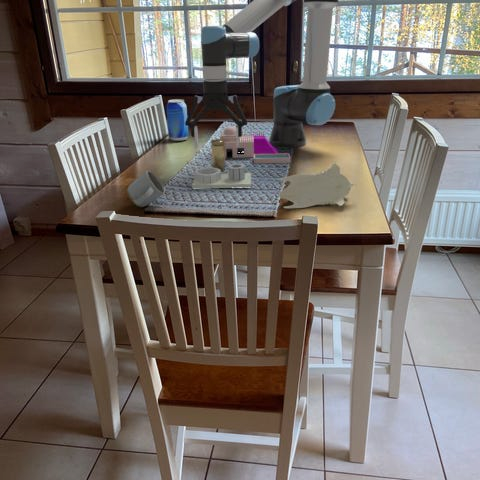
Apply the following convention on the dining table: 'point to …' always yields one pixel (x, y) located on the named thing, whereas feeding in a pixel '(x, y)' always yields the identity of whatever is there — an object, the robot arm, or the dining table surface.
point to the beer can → (177, 119)
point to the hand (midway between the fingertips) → (217, 146)
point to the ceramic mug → (145, 189)
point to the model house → (252, 147)
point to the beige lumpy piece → (316, 188)
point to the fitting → (218, 154)
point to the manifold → (222, 177)
